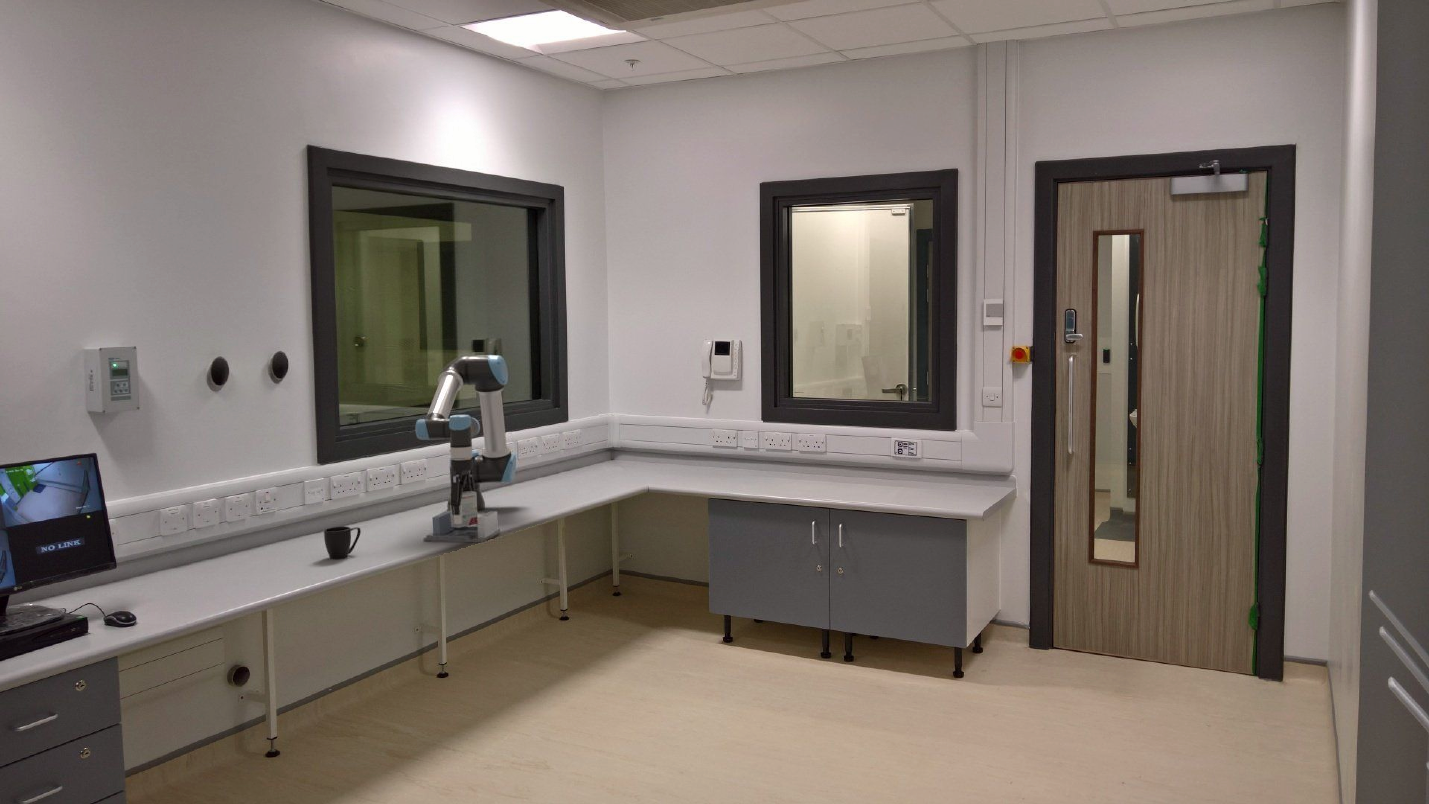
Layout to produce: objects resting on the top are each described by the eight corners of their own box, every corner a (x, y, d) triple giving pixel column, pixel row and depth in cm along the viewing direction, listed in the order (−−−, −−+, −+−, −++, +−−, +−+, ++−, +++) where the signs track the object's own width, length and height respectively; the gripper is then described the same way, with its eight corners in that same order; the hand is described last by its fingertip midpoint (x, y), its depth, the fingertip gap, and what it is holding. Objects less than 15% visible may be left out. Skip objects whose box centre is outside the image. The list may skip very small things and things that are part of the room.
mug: (367, 554, 334) (365, 526, 333) (332, 561, 325) (330, 532, 325) (355, 551, 340) (354, 523, 339) (321, 557, 331) (319, 529, 330)
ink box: (470, 522, 363) (468, 490, 362) (478, 524, 360) (477, 491, 359) (450, 526, 356) (448, 493, 355) (458, 528, 353) (457, 495, 352)
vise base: (443, 531, 368) (442, 509, 367) (500, 532, 364) (499, 510, 364) (423, 541, 352) (422, 518, 352) (482, 542, 349) (481, 519, 348)
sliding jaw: (447, 529, 365) (446, 510, 365) (454, 529, 365) (453, 511, 364) (433, 536, 354) (432, 517, 353) (439, 536, 353) (439, 517, 353)
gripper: (464, 454, 367) (467, 514, 369) (438, 462, 346) (441, 527, 347) (483, 454, 366) (486, 515, 368) (458, 462, 344) (461, 527, 346)
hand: (464, 520), depth 358 cm, fingers closed on ink box, 9 cm apart
